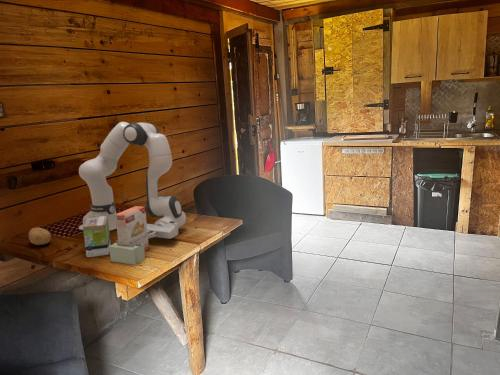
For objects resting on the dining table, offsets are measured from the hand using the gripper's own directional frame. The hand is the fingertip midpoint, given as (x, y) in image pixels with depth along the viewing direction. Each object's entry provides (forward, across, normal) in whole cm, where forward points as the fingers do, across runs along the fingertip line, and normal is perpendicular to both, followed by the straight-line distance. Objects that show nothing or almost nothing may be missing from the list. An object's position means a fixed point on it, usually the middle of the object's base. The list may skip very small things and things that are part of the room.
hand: (145, 236), depth 182 cm
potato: (+12, -56, +6) cm, 58 cm away
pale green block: (+14, 0, +6) cm, 15 cm away
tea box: (+9, -21, +6) cm, 24 cm away
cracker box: (+7, -1, +6) cm, 9 cm away
